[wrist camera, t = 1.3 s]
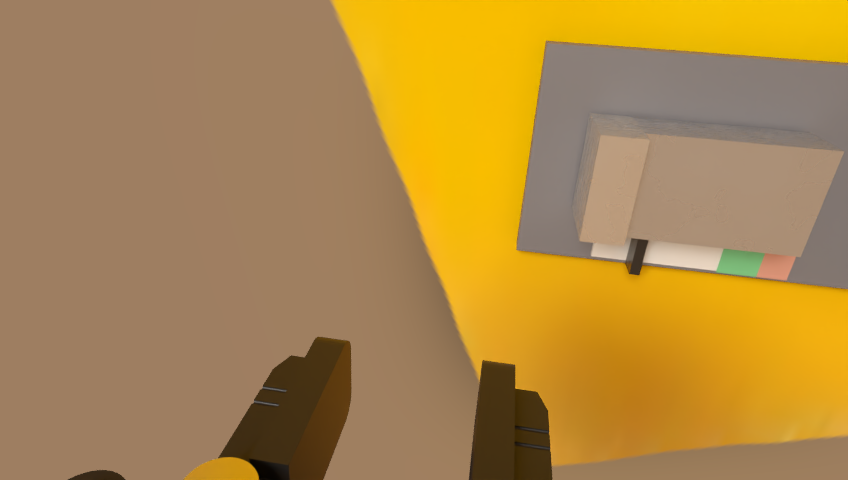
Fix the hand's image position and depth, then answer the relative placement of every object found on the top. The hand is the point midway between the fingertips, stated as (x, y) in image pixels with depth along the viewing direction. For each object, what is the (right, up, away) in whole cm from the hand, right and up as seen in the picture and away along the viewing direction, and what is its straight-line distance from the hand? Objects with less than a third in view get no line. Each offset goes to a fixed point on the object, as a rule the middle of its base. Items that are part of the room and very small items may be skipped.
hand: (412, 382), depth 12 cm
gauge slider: (+13, +5, +15) cm, 21 cm away
